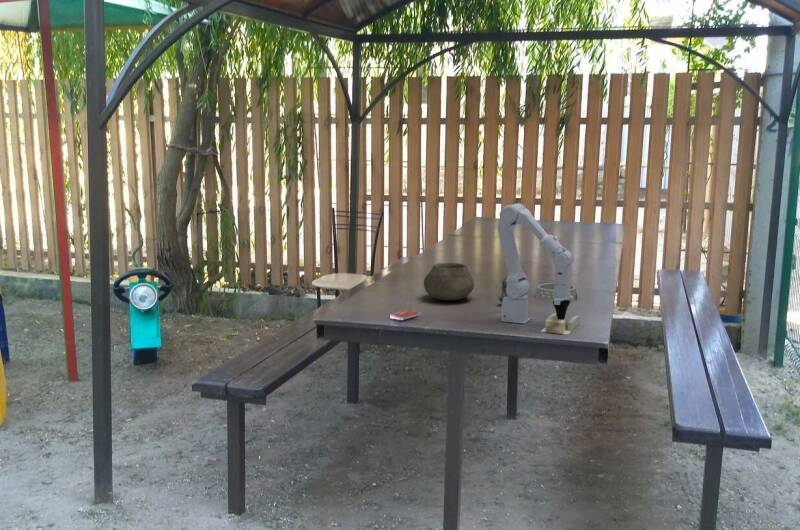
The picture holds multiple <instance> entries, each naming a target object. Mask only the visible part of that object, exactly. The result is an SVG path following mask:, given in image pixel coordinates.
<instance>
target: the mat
mask: <svg viewBox="0 0 800 530" xmlns="http://www.w3.org/2000/svg"><path fill="white" fill-rule="evenodd" d="M545 329H546V328H545V327H544V328H542V330H540V332H542V333H543V332H544V333H546V332H545ZM571 332H572V331H568V330H567V329H565V332H564V333H563V334H562V335H569V334H570V333H571Z"/></svg>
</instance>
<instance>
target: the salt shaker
mask: <svg viewBox="0 0 800 530" xmlns="http://www.w3.org/2000/svg"><path fill="white" fill-rule="evenodd" d="M506 279H507V276H505V278H504V279H503V280H502V283H501V285H502V286H501V291H502V292H501V294H500V295H499V296H498V298H499V302H500V304H498V305H500V306H499V307H501V306H502V300H503V298H504V297H509V296H508V295H507V292H506V287H507V282H506Z"/></svg>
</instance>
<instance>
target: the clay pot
mask: <svg viewBox="0 0 800 530" xmlns="http://www.w3.org/2000/svg"><path fill="white" fill-rule="evenodd" d="M474 287H475V280H474V278H473V276H472V275H471V273H470V271H469V268H468V265H467V264H464V263H459V262H458V263H457V262H441V263H440V262H439V263H435V264H433V265H432V267H431V269H430V270H429V272H428V273H427V274H426V275H425V277H424V279H423V288H424V290H425V292H426V294H428V295H429V296H430V297H432V298H435V300H439V301H445V302H446V301H447V302H448V301H451V302H453V301H458V300H459V301H460V300H462V299H464V298H466V297H467V296H469V295H470V294H471V293H472V292H473V290H474Z"/></svg>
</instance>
